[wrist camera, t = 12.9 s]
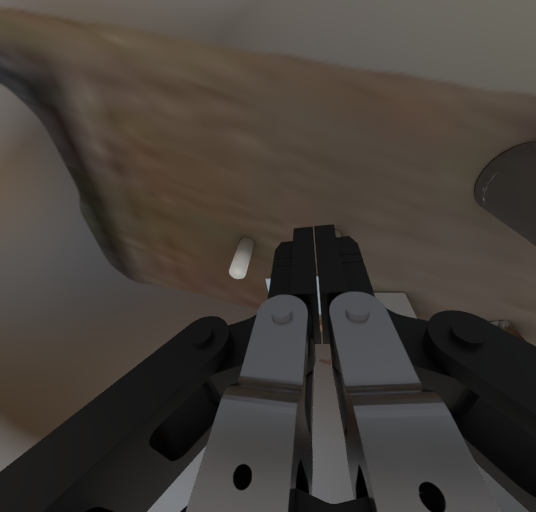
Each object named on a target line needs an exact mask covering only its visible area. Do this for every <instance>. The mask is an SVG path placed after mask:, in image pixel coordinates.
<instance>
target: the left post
mask: <svg viewBox="0 0 536 512" xmlns="http://www.w3.org/2000/svg"><path fill="white" fill-rule="evenodd" d="M253 247H254V242H253V241H252V240H251V239H250V238H242V239H241V240H240V242H239V245H238V248H237V250H236V253H235V256H234V259H233V261H232V264H231V267H230V270H229V274H230V275H231V276H232V277H233V278H235V279H242V278H244V277H245V275H246V272H247V268H248V265H249V261H250V257H251V254H252V250H253Z"/></svg>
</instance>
